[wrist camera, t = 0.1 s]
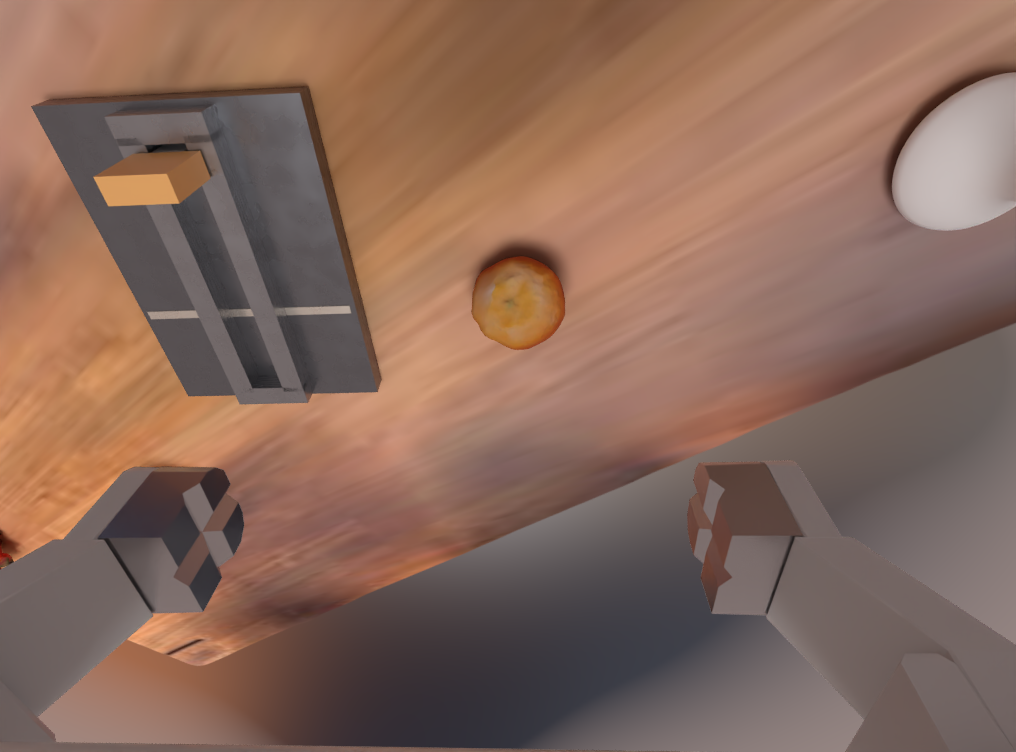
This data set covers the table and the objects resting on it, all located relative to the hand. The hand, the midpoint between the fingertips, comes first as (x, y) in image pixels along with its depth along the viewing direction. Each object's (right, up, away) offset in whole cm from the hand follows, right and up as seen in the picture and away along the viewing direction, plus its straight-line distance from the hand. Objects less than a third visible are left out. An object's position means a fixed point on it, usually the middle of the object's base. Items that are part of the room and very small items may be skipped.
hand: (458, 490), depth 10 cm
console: (-23, +12, +41) cm, 48 cm away
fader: (-24, +19, +33) cm, 45 cm away
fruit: (+2, +11, +42) cm, 43 cm away
